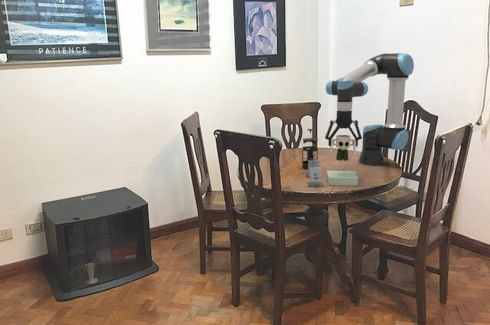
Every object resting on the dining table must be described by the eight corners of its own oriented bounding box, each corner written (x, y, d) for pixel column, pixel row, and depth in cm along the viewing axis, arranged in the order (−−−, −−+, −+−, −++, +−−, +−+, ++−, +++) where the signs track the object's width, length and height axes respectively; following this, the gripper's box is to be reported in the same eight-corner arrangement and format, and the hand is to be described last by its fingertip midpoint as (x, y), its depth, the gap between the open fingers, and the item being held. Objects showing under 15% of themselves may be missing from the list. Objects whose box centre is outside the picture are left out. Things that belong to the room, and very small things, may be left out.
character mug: (332, 161, 231) (333, 136, 228) (330, 158, 238) (331, 134, 235) (353, 162, 230) (355, 137, 227) (351, 159, 237) (353, 134, 234)
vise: (320, 174, 251) (320, 158, 249) (324, 187, 227) (324, 170, 225) (305, 174, 251) (306, 158, 249) (308, 187, 228) (308, 170, 225)
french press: (316, 170, 260) (317, 130, 255) (300, 169, 263) (300, 130, 257) (319, 165, 271) (320, 127, 266) (303, 164, 274) (304, 127, 268)
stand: (353, 178, 243) (354, 170, 242) (358, 185, 229) (358, 178, 228) (326, 177, 244) (326, 170, 243) (328, 185, 230) (329, 177, 229)
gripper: (366, 109, 230) (364, 151, 235) (320, 109, 232) (319, 151, 238) (369, 110, 223) (367, 154, 228) (321, 111, 225) (320, 154, 230)
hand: (342, 152), depth 233 cm, fingers closed on character mug, 11 cm apart
